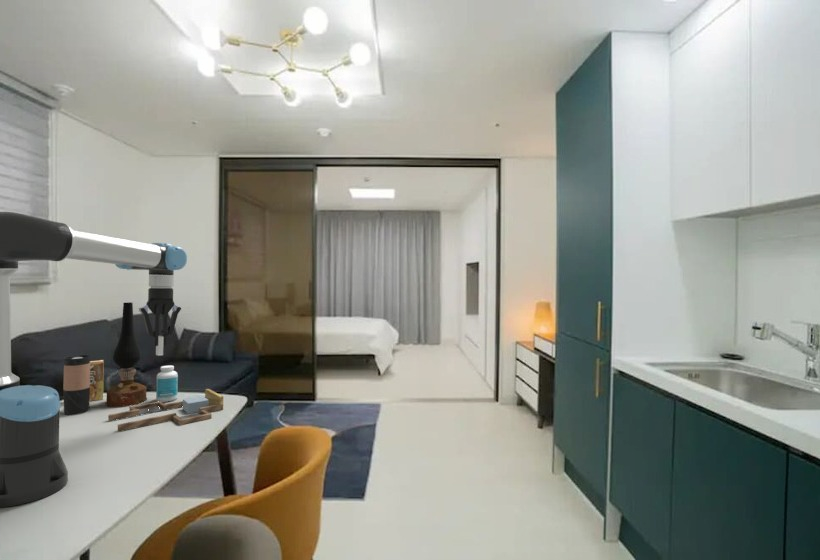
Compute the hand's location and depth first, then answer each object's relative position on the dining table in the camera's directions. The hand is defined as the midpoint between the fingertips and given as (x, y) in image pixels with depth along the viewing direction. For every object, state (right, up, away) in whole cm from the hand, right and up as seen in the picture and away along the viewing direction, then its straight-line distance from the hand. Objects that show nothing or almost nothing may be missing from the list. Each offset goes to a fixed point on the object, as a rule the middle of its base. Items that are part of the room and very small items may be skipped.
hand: (159, 354), depth 147 cm
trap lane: (0, -22, +4) cm, 23 cm away
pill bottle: (-10, -22, +23) cm, 33 cm away
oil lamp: (-24, -22, +19) cm, 38 cm away
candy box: (-40, -22, +20) cm, 50 cm away
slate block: (+7, -23, +11) cm, 26 cm away
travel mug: (-34, -22, +6) cm, 41 cm away
